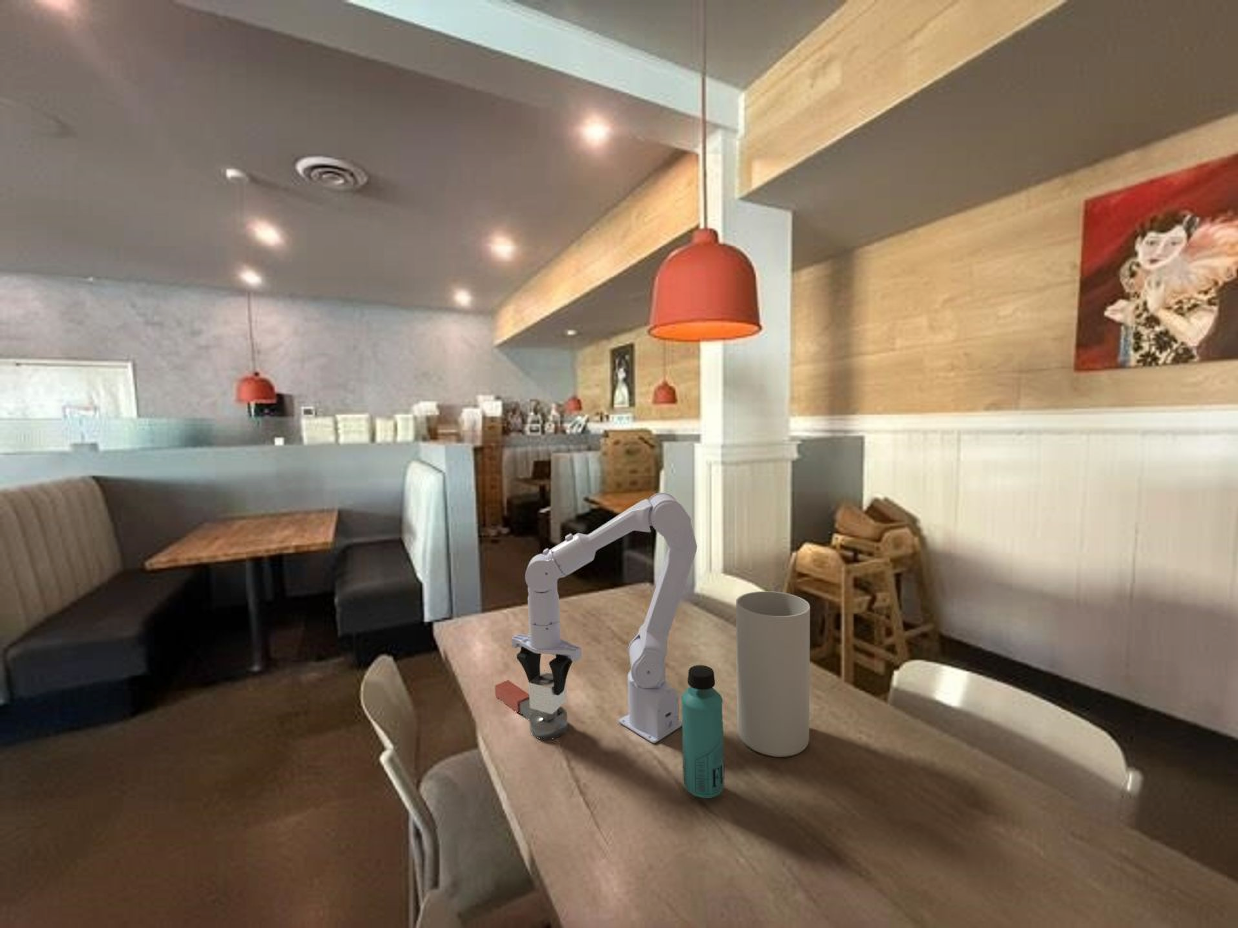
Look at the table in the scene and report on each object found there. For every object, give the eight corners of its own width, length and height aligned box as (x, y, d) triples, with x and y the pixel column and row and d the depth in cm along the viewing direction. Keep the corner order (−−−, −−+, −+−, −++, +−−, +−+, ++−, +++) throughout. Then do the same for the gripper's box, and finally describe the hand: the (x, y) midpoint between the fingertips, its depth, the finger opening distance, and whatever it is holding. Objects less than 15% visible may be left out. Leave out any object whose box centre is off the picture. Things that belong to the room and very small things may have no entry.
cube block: (566, 700, 99) (565, 674, 99) (552, 714, 95) (550, 686, 94) (545, 694, 101) (544, 668, 101) (529, 707, 97) (528, 680, 96)
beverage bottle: (715, 814, 76) (714, 684, 74) (674, 798, 80) (672, 673, 78) (731, 787, 82) (730, 665, 80) (692, 772, 85) (690, 656, 83)
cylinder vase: (759, 709, 103) (759, 586, 100) (821, 735, 94) (822, 601, 92) (723, 737, 94) (722, 604, 92) (787, 769, 85) (788, 623, 83)
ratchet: (574, 728, 98) (574, 704, 98) (544, 744, 93) (543, 719, 93) (516, 687, 114) (515, 666, 113) (487, 700, 109) (486, 678, 108)
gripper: (588, 618, 97) (591, 687, 98) (526, 606, 103) (529, 671, 104) (568, 632, 90) (571, 706, 92) (503, 619, 97) (506, 688, 98)
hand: (547, 689), depth 98 cm, fingers closed on cube block, 5 cm apart
